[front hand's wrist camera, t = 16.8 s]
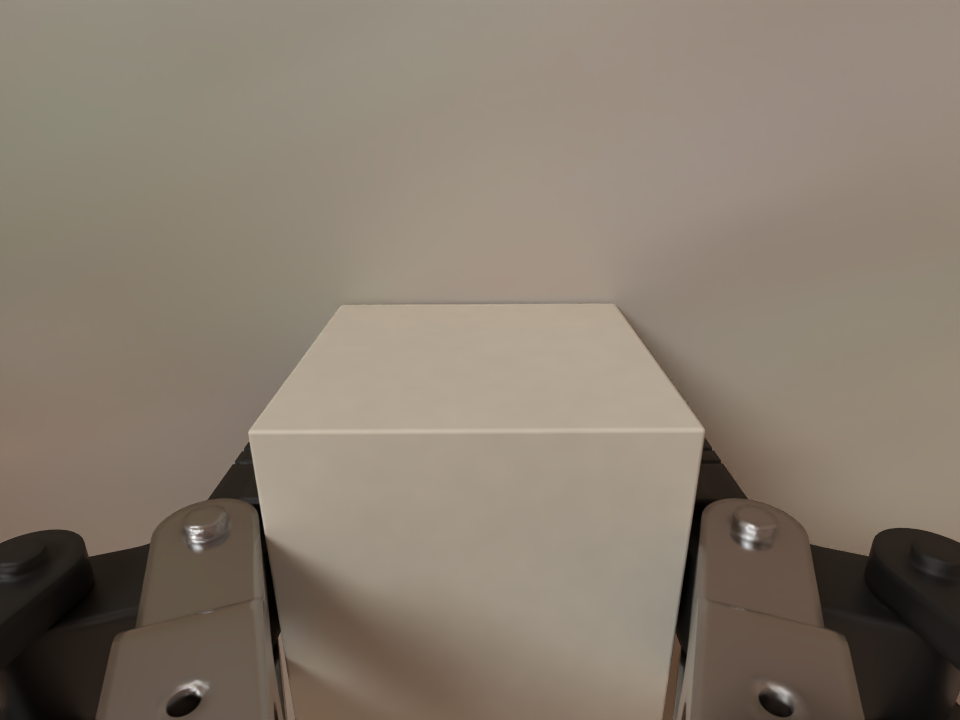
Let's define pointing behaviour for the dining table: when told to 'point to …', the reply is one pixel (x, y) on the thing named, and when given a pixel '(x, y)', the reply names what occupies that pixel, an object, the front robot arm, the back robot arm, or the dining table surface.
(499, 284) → the dining table surface
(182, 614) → the front robot arm
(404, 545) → the block
